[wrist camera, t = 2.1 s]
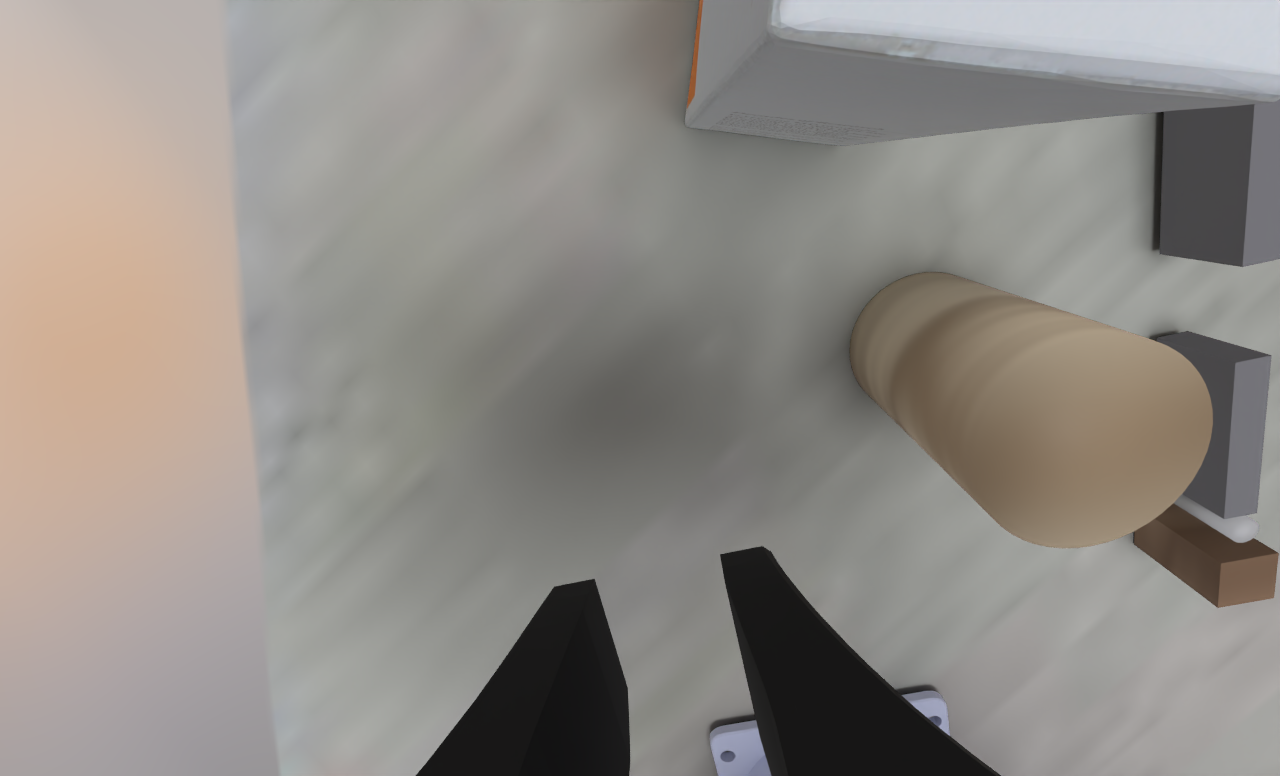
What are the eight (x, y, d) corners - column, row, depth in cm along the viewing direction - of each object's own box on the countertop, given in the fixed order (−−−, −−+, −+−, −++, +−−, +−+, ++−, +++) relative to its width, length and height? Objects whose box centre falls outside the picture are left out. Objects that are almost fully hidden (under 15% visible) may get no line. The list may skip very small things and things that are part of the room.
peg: (998, 395, 18) (1206, 524, 11) (858, 424, 18) (980, 566, 12) (991, 256, 17) (1219, 311, 10) (841, 290, 17) (966, 365, 10)
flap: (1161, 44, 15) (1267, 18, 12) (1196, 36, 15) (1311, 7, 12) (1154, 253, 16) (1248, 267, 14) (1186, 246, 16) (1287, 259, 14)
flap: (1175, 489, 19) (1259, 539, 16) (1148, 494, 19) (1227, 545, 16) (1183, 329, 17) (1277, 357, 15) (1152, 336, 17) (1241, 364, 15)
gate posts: (1181, 535, 19) (1274, 598, 16) (1134, 544, 19) (1217, 607, 17) (1209, -51, 14) (1348, -106, 12) (1146, -34, 14) (1268, -85, 12)
